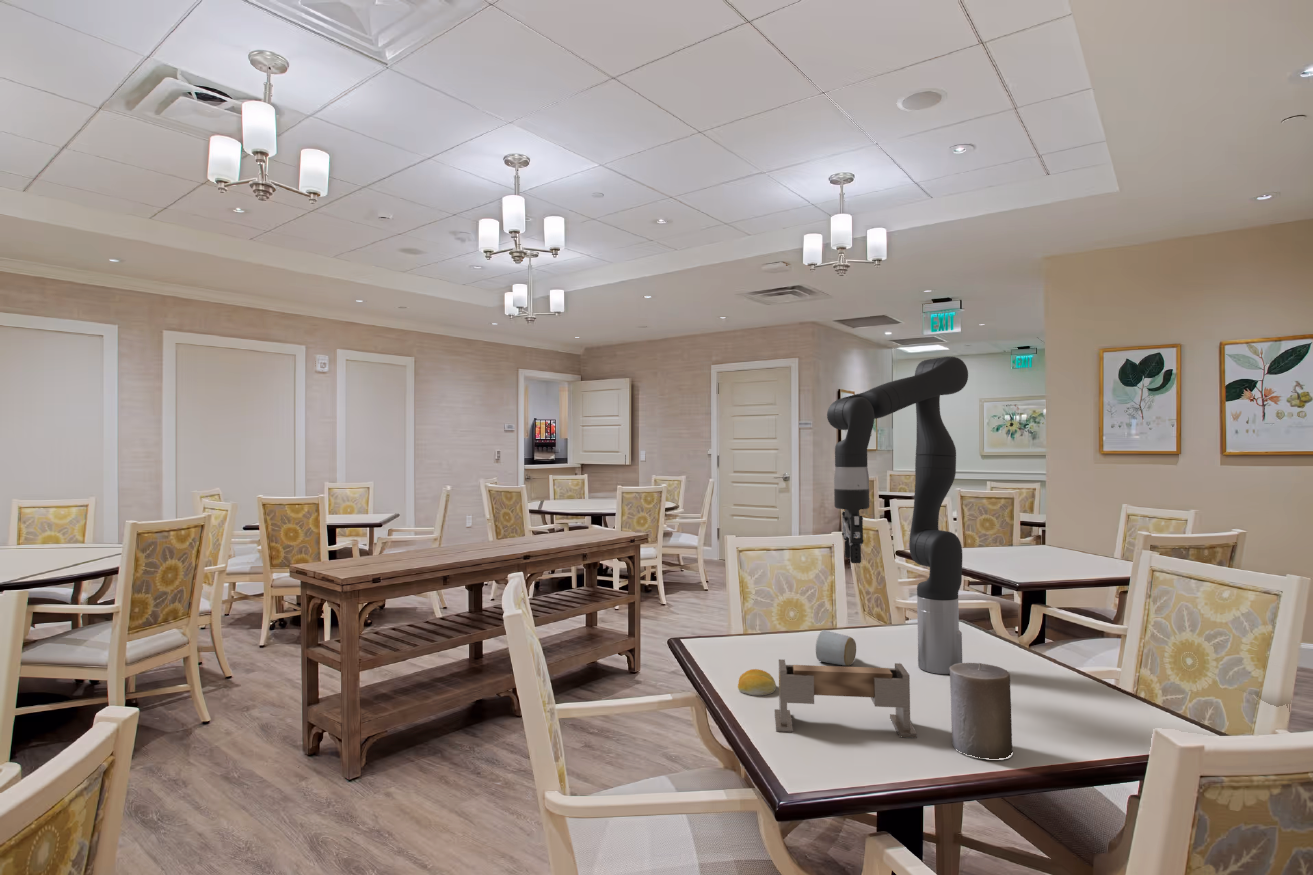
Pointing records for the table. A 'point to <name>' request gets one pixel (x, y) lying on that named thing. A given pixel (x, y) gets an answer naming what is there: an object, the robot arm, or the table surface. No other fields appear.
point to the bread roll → (756, 683)
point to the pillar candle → (981, 710)
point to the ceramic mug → (835, 648)
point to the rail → (843, 679)
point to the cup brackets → (885, 695)
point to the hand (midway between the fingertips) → (852, 560)
